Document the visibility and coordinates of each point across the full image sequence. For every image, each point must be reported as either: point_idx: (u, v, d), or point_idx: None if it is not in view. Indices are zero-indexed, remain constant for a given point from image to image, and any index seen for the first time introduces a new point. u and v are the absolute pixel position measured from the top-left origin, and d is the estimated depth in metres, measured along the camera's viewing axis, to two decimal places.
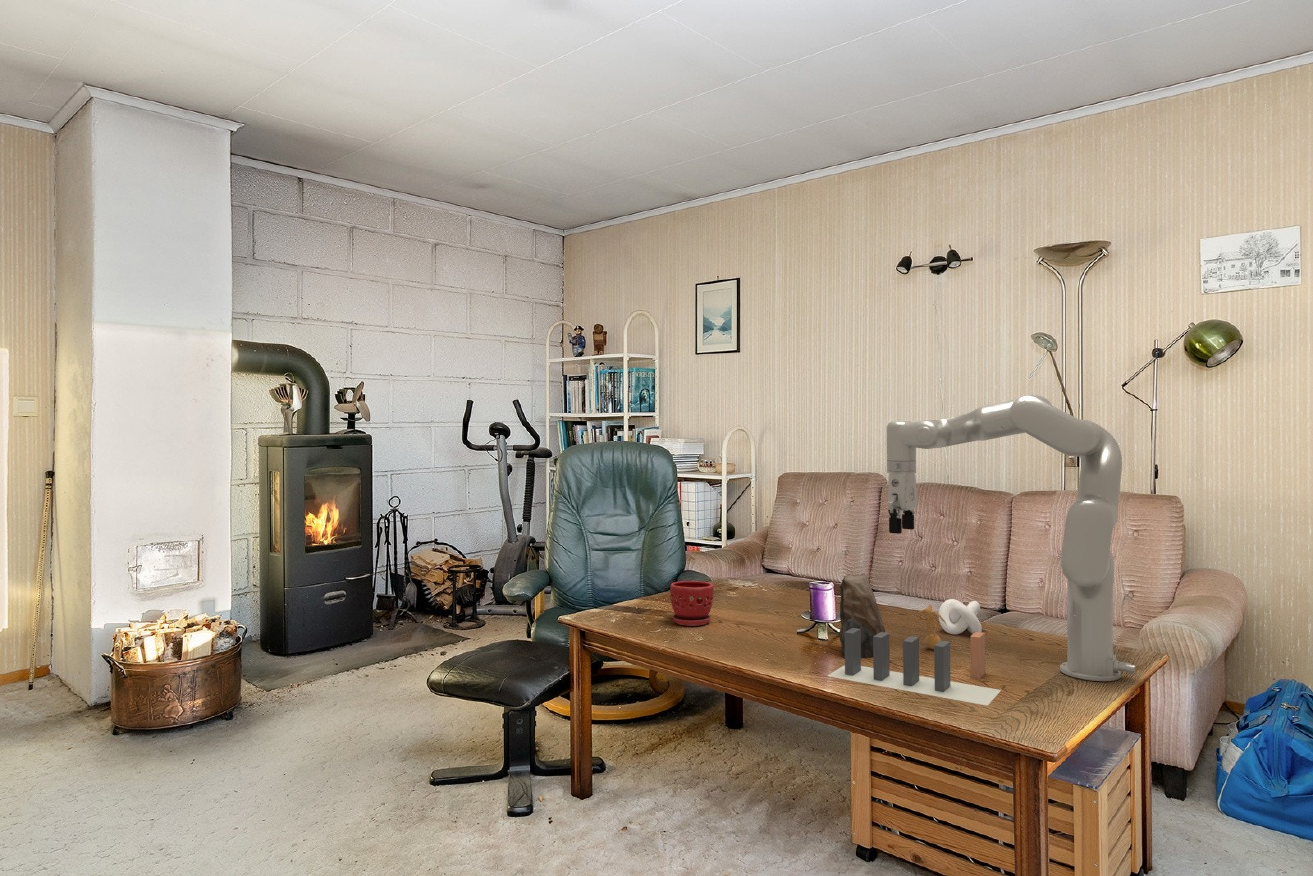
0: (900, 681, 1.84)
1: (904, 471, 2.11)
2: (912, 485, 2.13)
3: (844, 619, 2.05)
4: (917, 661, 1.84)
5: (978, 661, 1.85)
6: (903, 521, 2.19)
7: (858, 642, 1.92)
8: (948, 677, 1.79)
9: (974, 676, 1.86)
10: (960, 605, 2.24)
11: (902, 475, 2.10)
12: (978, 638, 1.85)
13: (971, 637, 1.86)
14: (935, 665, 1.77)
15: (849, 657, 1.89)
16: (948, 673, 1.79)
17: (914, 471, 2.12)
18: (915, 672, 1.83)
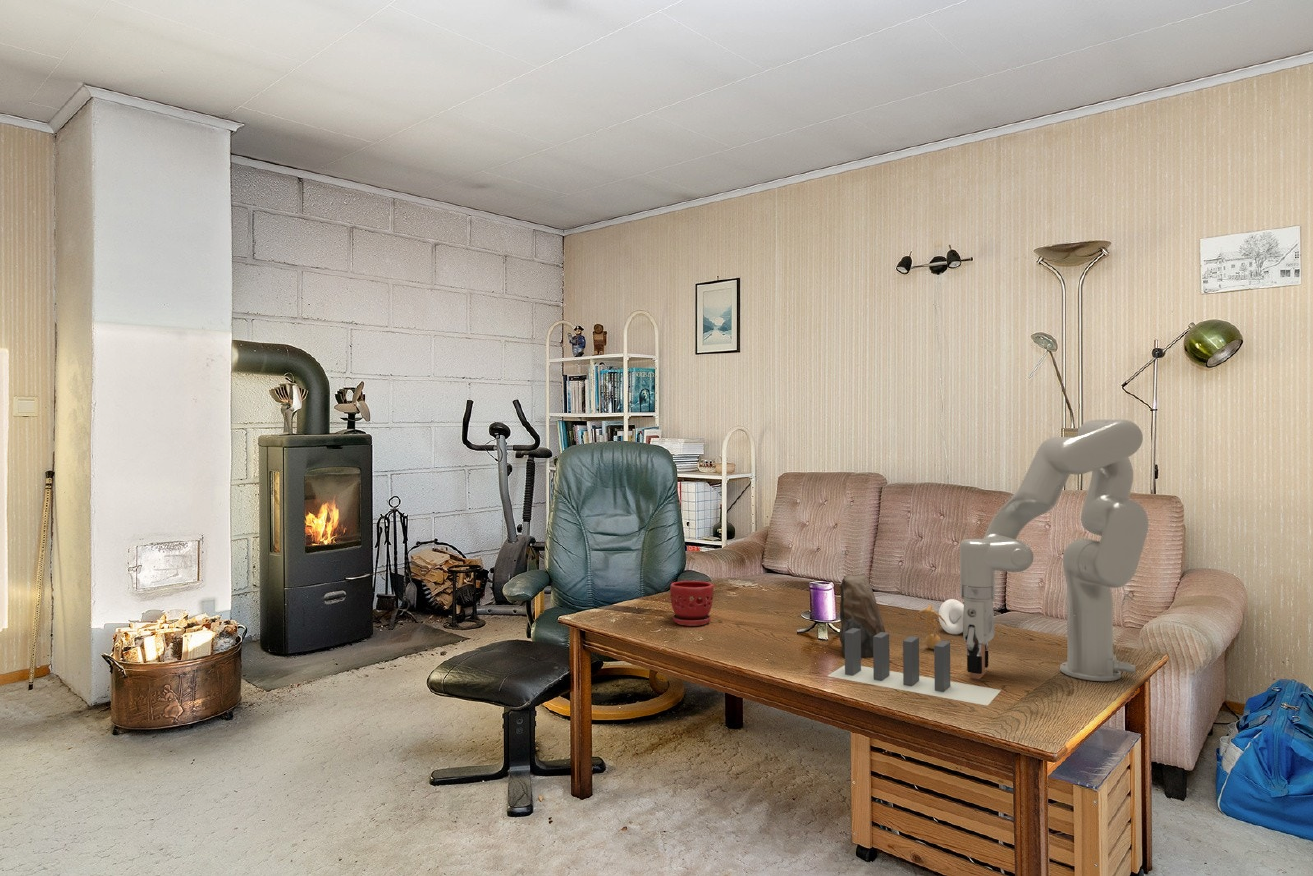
0: (900, 681, 1.84)
1: (982, 599, 1.84)
2: (990, 614, 1.86)
3: (844, 619, 2.05)
4: (917, 661, 1.84)
5: None
6: None
7: (858, 642, 1.92)
8: (948, 677, 1.79)
9: (974, 676, 1.86)
10: (960, 605, 2.24)
11: (980, 605, 1.83)
12: None
13: None
14: (935, 665, 1.77)
15: (849, 657, 1.89)
16: (948, 673, 1.79)
17: (993, 598, 1.85)
18: (915, 672, 1.83)
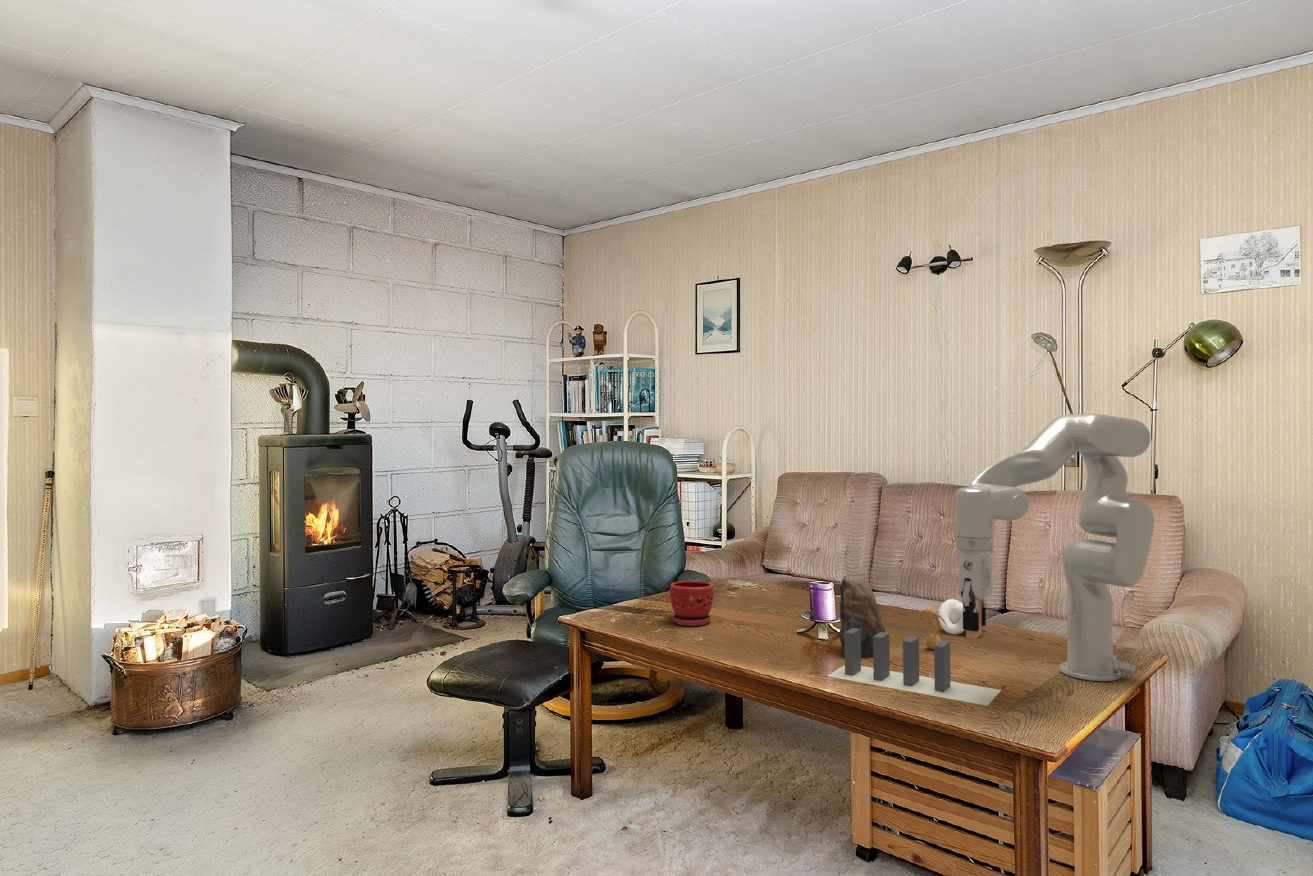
0: (900, 681, 1.84)
1: (979, 551, 1.71)
2: (988, 567, 1.73)
3: (844, 619, 2.05)
4: (917, 661, 1.84)
5: None
6: None
7: (858, 642, 1.92)
8: (948, 677, 1.79)
9: (970, 634, 1.73)
10: (960, 605, 2.24)
11: (977, 556, 1.70)
12: None
13: None
14: (935, 665, 1.77)
15: (849, 657, 1.89)
16: (948, 673, 1.79)
17: (991, 550, 1.72)
18: (915, 672, 1.83)
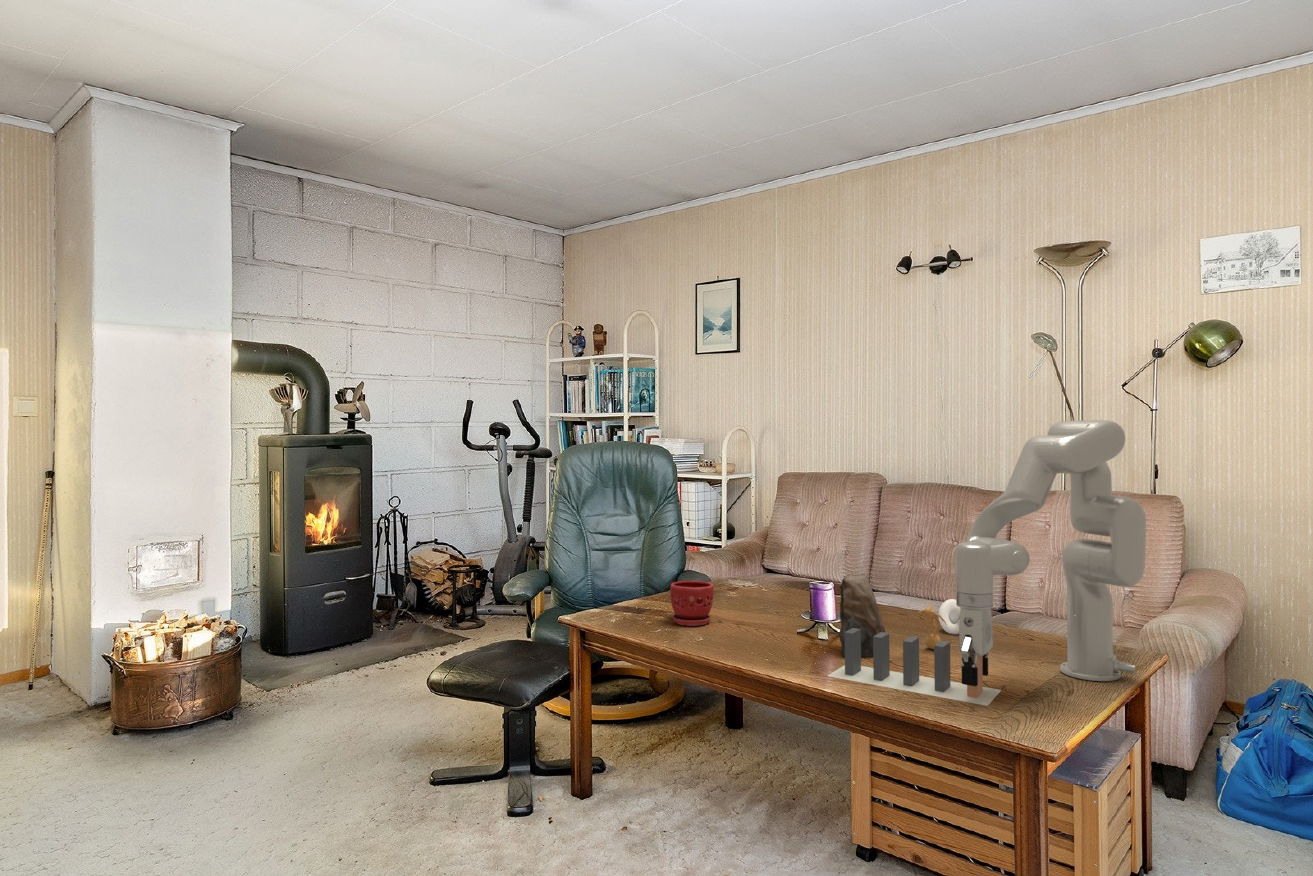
0: (900, 681, 1.84)
1: (980, 607, 1.71)
2: (988, 623, 1.73)
3: (844, 619, 2.05)
4: (917, 661, 1.84)
5: None
6: None
7: (858, 642, 1.92)
8: (948, 677, 1.79)
9: (971, 693, 1.73)
10: None
11: (977, 613, 1.70)
12: None
13: None
14: (935, 665, 1.77)
15: (849, 657, 1.89)
16: (948, 673, 1.79)
17: (991, 606, 1.72)
18: (915, 672, 1.83)
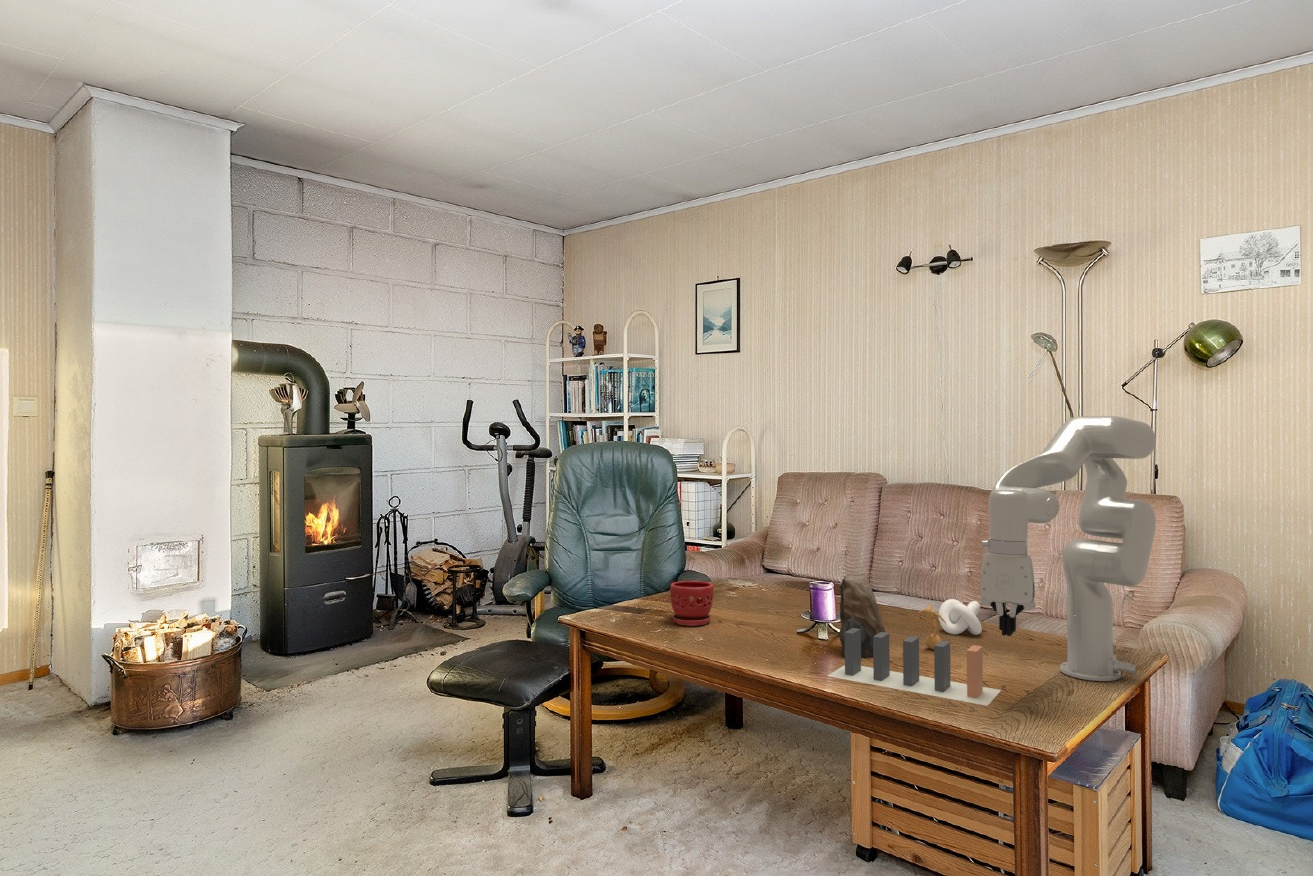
0: (900, 681, 1.84)
1: (990, 552, 1.71)
2: (1005, 572, 1.68)
3: (844, 619, 2.05)
4: (917, 661, 1.84)
5: (975, 677, 1.72)
6: None
7: (858, 642, 1.92)
8: (948, 677, 1.79)
9: (971, 693, 1.73)
10: (960, 605, 2.24)
11: (984, 556, 1.71)
12: (975, 652, 1.72)
13: (968, 651, 1.73)
14: (935, 665, 1.77)
15: (849, 657, 1.89)
16: (948, 673, 1.79)
17: (1001, 554, 1.68)
18: (915, 672, 1.83)
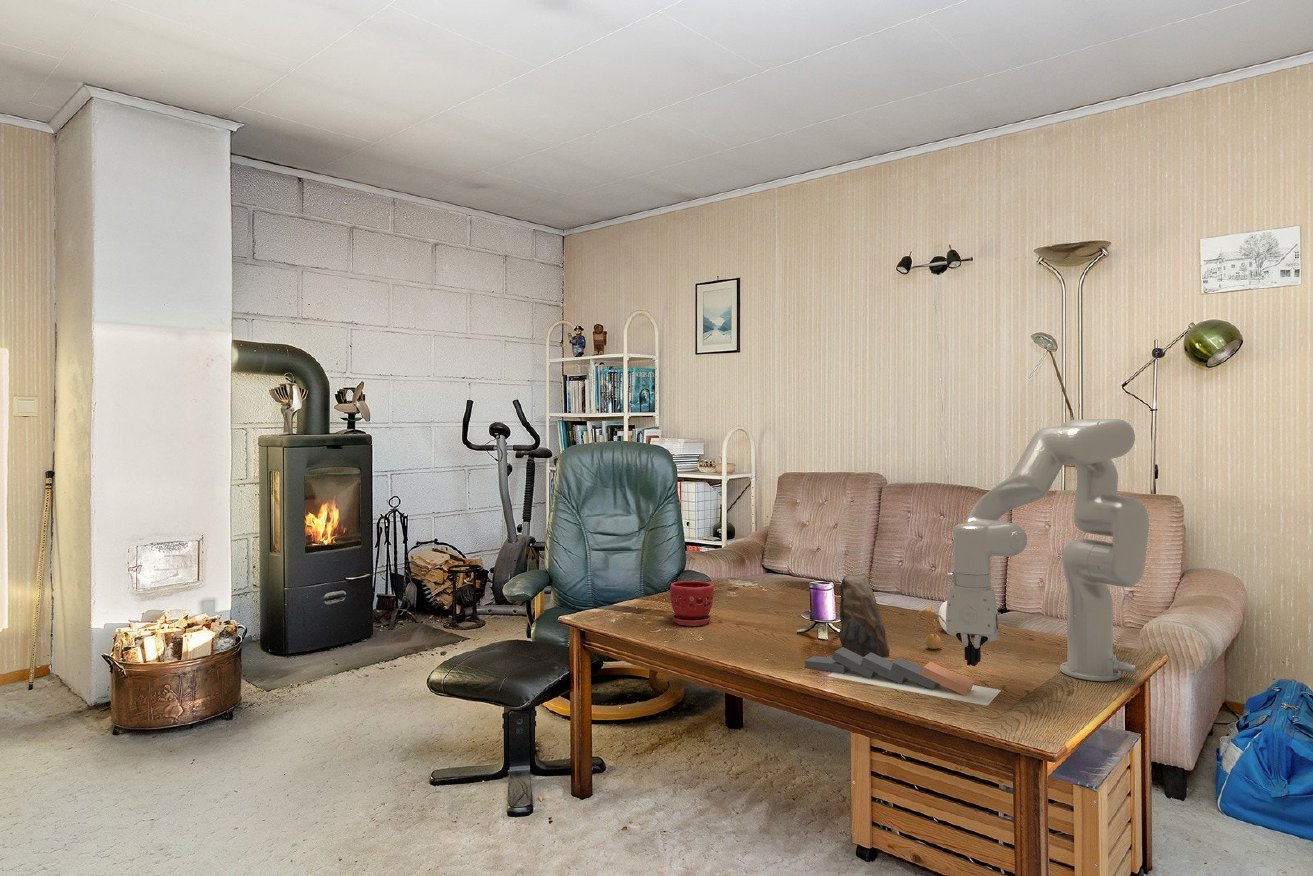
0: None
1: (954, 584, 1.75)
2: (969, 605, 1.73)
3: (844, 619, 2.05)
4: (889, 663, 1.87)
5: (947, 679, 1.76)
6: None
7: (822, 658, 1.97)
8: None
9: (962, 690, 1.74)
10: None
11: (949, 588, 1.76)
12: (924, 668, 1.79)
13: (922, 674, 1.79)
14: (909, 678, 1.81)
15: (827, 666, 1.93)
16: None
17: (965, 587, 1.72)
18: None
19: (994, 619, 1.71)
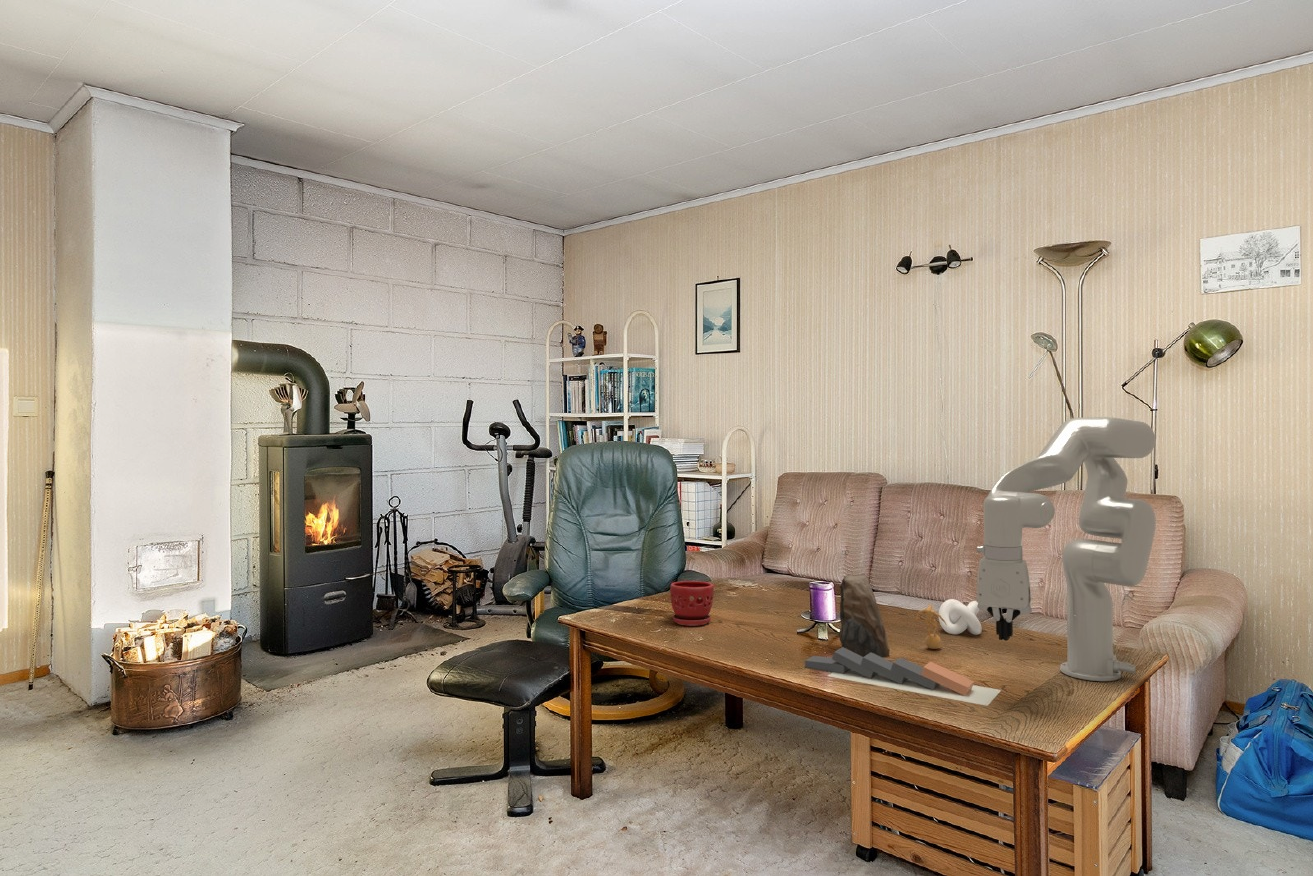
0: None
1: (985, 557, 1.72)
2: (1000, 578, 1.69)
3: (844, 619, 2.05)
4: (889, 663, 1.87)
5: (947, 679, 1.76)
6: None
7: (822, 658, 1.97)
8: None
9: (962, 690, 1.74)
10: (960, 605, 2.24)
11: (980, 562, 1.73)
12: (924, 668, 1.79)
13: (922, 674, 1.79)
14: (909, 678, 1.81)
15: (827, 666, 1.93)
16: None
17: (996, 560, 1.69)
18: None
19: (1027, 592, 1.67)
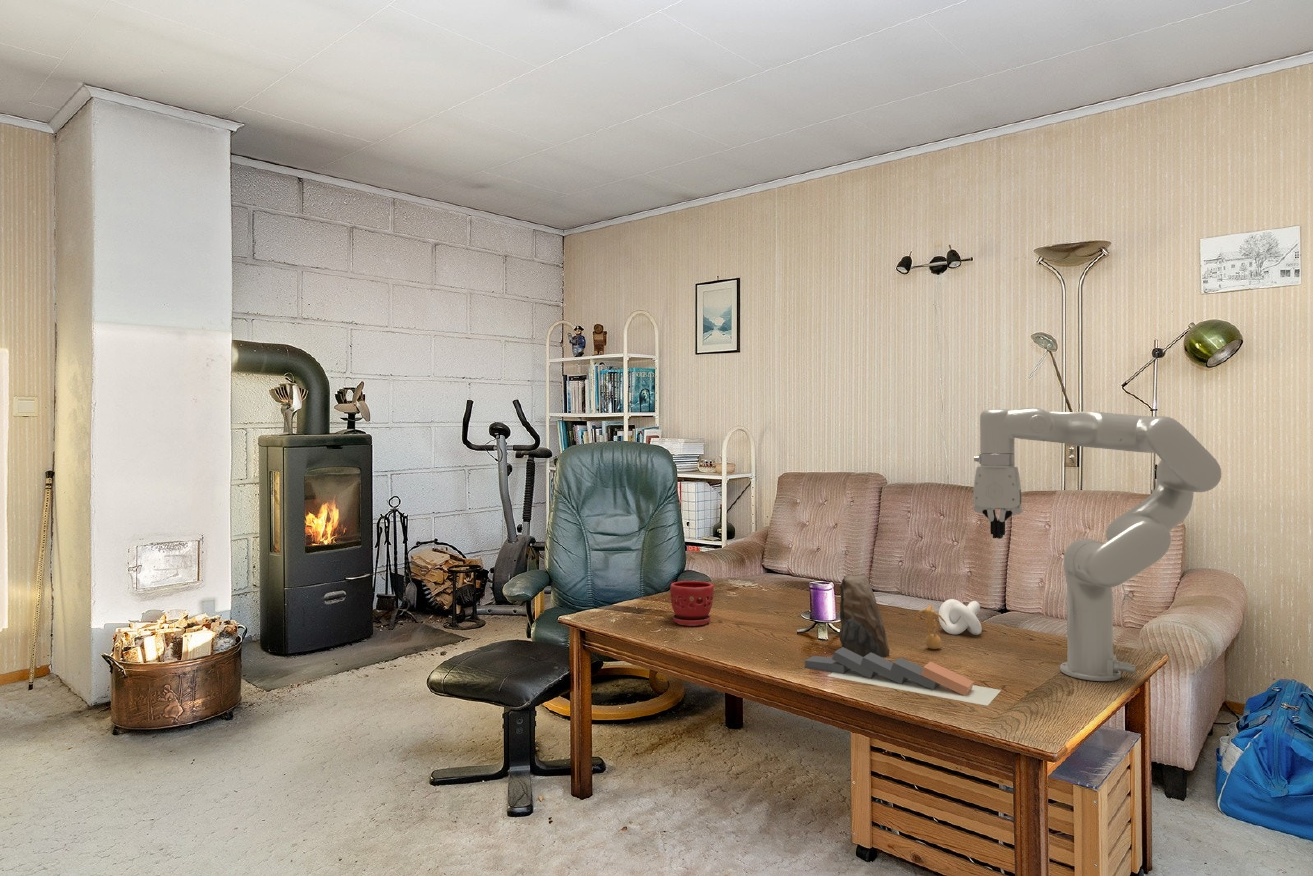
0: None
1: (981, 464, 1.92)
2: (995, 482, 1.89)
3: (844, 619, 2.05)
4: (889, 663, 1.87)
5: (947, 679, 1.76)
6: None
7: (822, 658, 1.97)
8: None
9: (962, 690, 1.74)
10: (960, 605, 2.24)
11: (976, 469, 1.92)
12: (924, 668, 1.79)
13: (922, 674, 1.79)
14: (909, 678, 1.81)
15: (827, 666, 1.93)
16: None
17: (991, 465, 1.89)
18: None
19: (1018, 493, 1.87)
